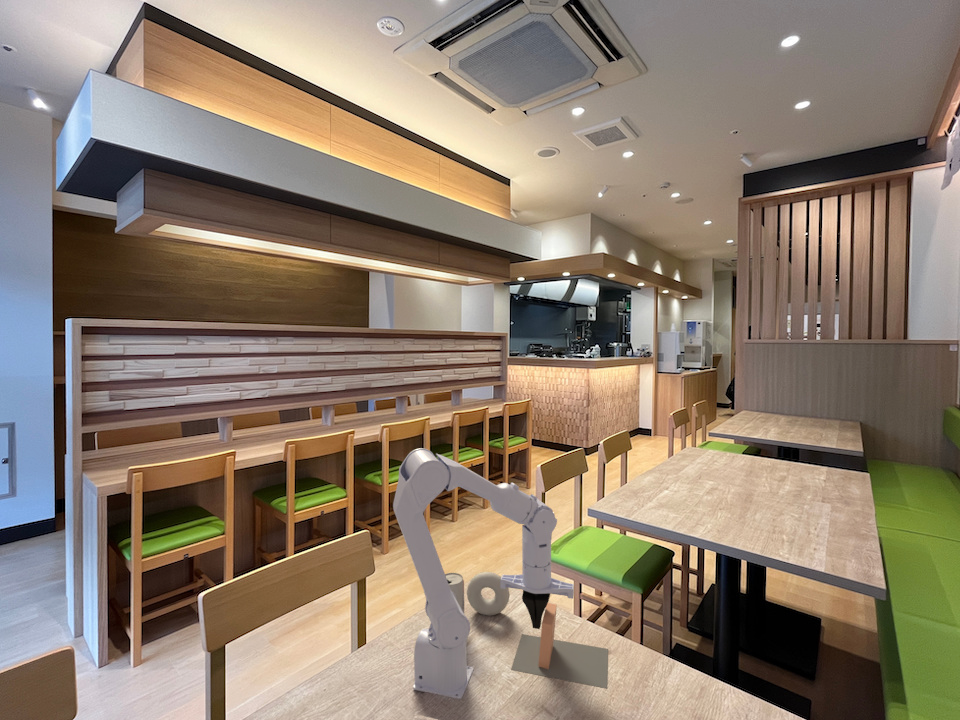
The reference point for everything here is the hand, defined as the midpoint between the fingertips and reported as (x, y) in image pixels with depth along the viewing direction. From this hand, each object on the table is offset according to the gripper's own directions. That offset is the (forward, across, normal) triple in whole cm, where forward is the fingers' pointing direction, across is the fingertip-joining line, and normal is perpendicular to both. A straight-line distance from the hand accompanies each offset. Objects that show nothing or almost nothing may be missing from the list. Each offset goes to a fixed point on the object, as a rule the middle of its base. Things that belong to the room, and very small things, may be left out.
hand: (536, 625), depth 95 cm
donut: (+7, +13, -11) cm, 18 cm away
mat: (+6, -5, 0) cm, 8 cm away
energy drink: (+7, +19, -3) cm, 21 cm away
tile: (+6, -2, 0) cm, 6 cm away
